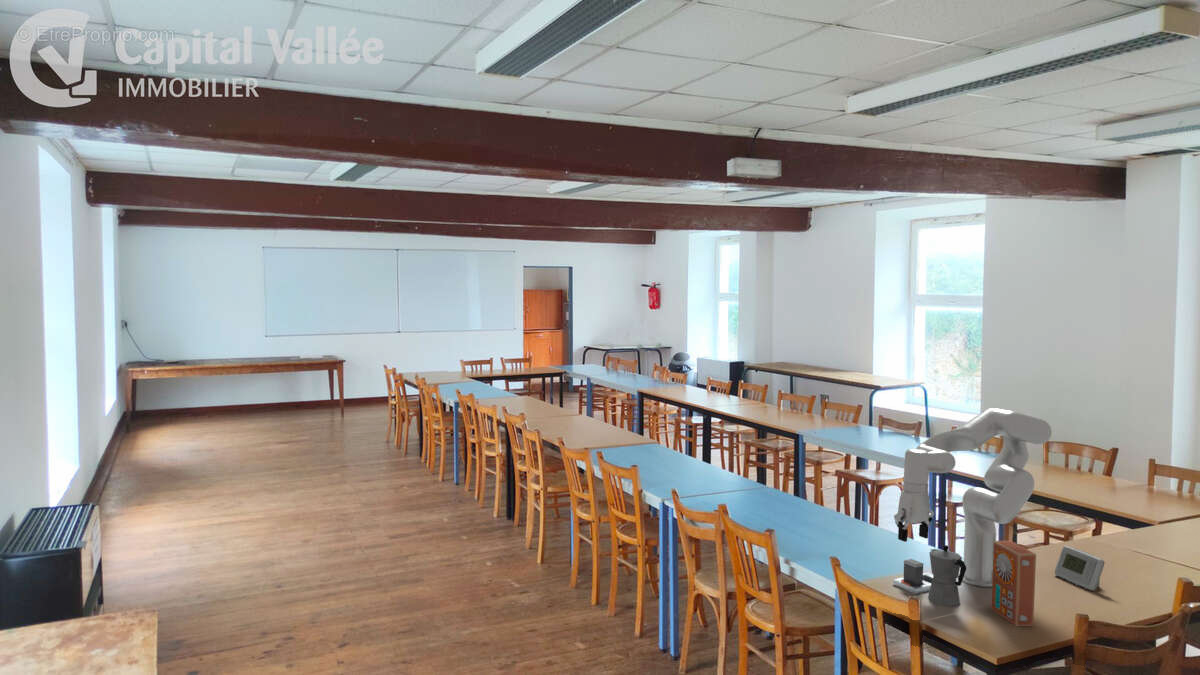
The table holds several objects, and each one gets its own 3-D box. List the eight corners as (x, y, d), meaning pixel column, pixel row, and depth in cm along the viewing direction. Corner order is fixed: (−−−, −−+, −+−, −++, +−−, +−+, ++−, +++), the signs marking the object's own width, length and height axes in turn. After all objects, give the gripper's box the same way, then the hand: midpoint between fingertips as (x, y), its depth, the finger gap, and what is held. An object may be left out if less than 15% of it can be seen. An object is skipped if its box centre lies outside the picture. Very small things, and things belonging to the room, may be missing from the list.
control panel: (1016, 628, 221) (986, 607, 236) (1039, 627, 222) (1007, 607, 236) (1019, 555, 220) (988, 539, 235) (1042, 555, 221) (1010, 539, 235)
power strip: (926, 578, 261) (927, 570, 261) (949, 587, 253) (949, 579, 253) (893, 585, 254) (893, 578, 253) (915, 594, 246) (915, 587, 245)
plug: (910, 583, 254) (911, 558, 254) (922, 589, 250) (923, 563, 250) (903, 585, 253) (903, 560, 252) (915, 590, 248) (915, 565, 248)
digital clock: (1051, 574, 266) (1052, 544, 266) (1076, 574, 266) (1078, 544, 266) (1082, 592, 250) (1083, 560, 249) (1109, 592, 250) (1110, 560, 250)
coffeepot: (917, 594, 246) (919, 539, 245) (942, 592, 248) (944, 537, 247) (950, 614, 231) (952, 555, 230) (976, 611, 233) (978, 553, 232)
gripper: (924, 482, 257) (922, 533, 258) (887, 486, 249) (885, 538, 250) (943, 487, 250) (940, 539, 251) (906, 492, 242) (903, 545, 243)
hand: (913, 538), depth 250 cm, fingers open, 9 cm apart
